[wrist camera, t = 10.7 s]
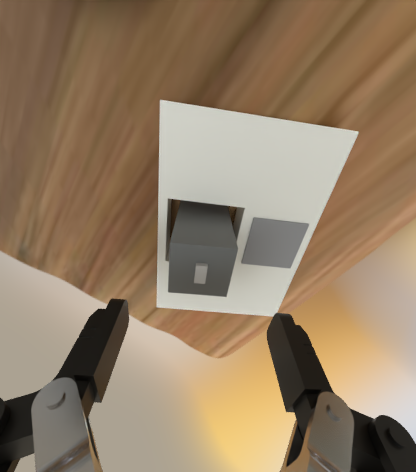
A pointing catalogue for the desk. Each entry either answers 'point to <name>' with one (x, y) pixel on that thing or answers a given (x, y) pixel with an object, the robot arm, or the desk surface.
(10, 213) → the desk surface
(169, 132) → the outlet plate
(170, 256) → the charger
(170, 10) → the desk surface
